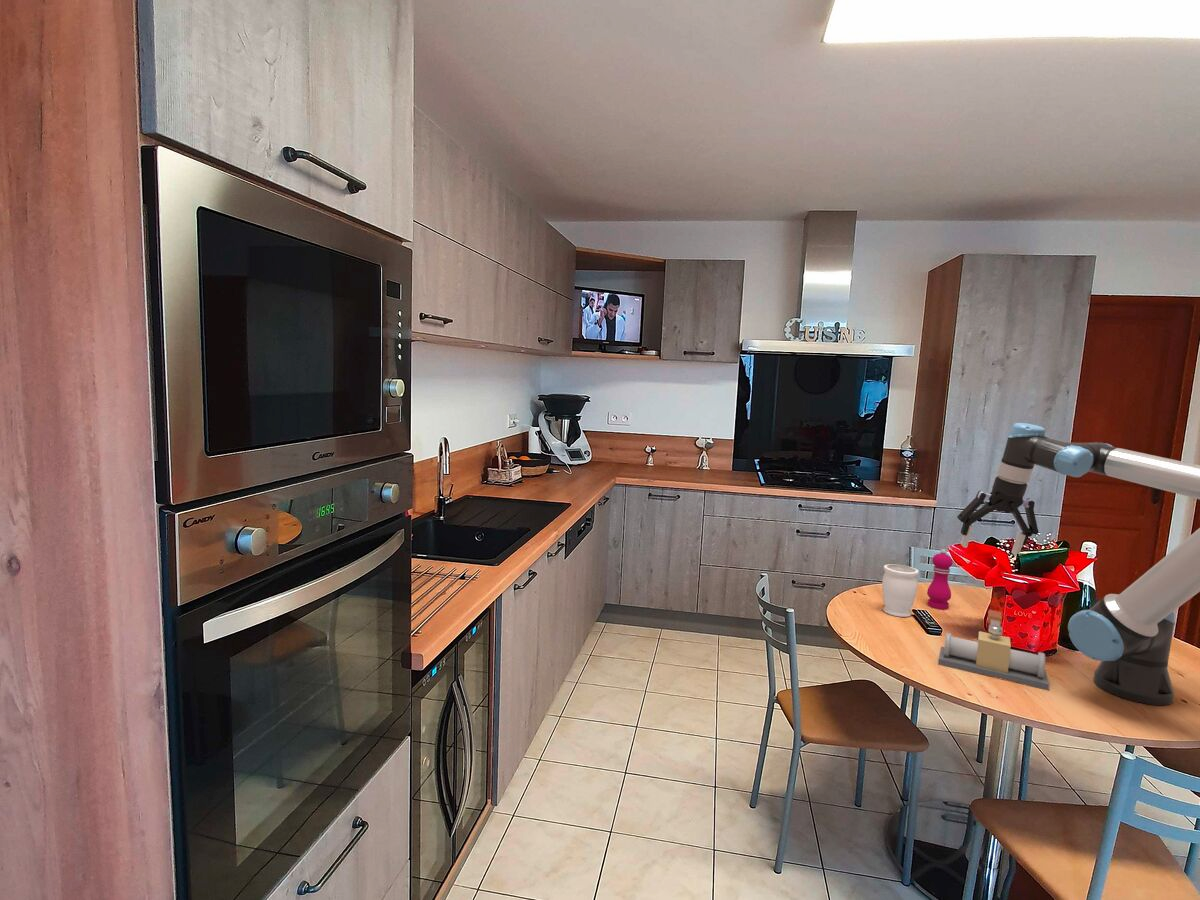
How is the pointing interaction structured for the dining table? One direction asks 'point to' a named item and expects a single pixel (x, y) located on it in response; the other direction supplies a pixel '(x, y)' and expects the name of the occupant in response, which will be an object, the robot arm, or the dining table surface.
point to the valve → (994, 659)
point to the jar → (899, 589)
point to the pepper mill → (940, 582)
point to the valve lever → (995, 622)
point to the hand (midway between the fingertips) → (988, 550)
